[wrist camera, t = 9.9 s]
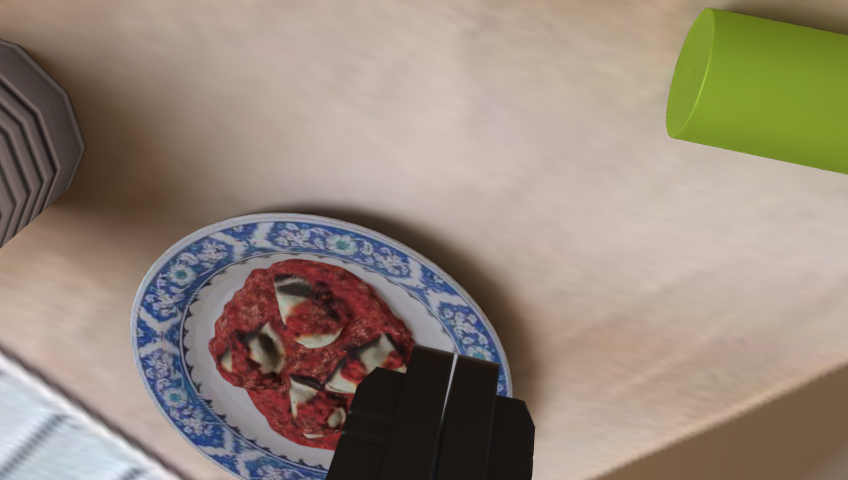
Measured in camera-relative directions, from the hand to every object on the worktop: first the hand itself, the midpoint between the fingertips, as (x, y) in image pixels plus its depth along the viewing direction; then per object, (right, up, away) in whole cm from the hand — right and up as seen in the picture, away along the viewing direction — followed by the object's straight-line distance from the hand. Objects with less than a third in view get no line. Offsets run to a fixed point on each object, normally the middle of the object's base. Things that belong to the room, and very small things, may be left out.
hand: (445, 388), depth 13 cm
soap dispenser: (+12, +10, +21) cm, 26 cm away
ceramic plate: (-7, -6, +39) cm, 40 cm away
